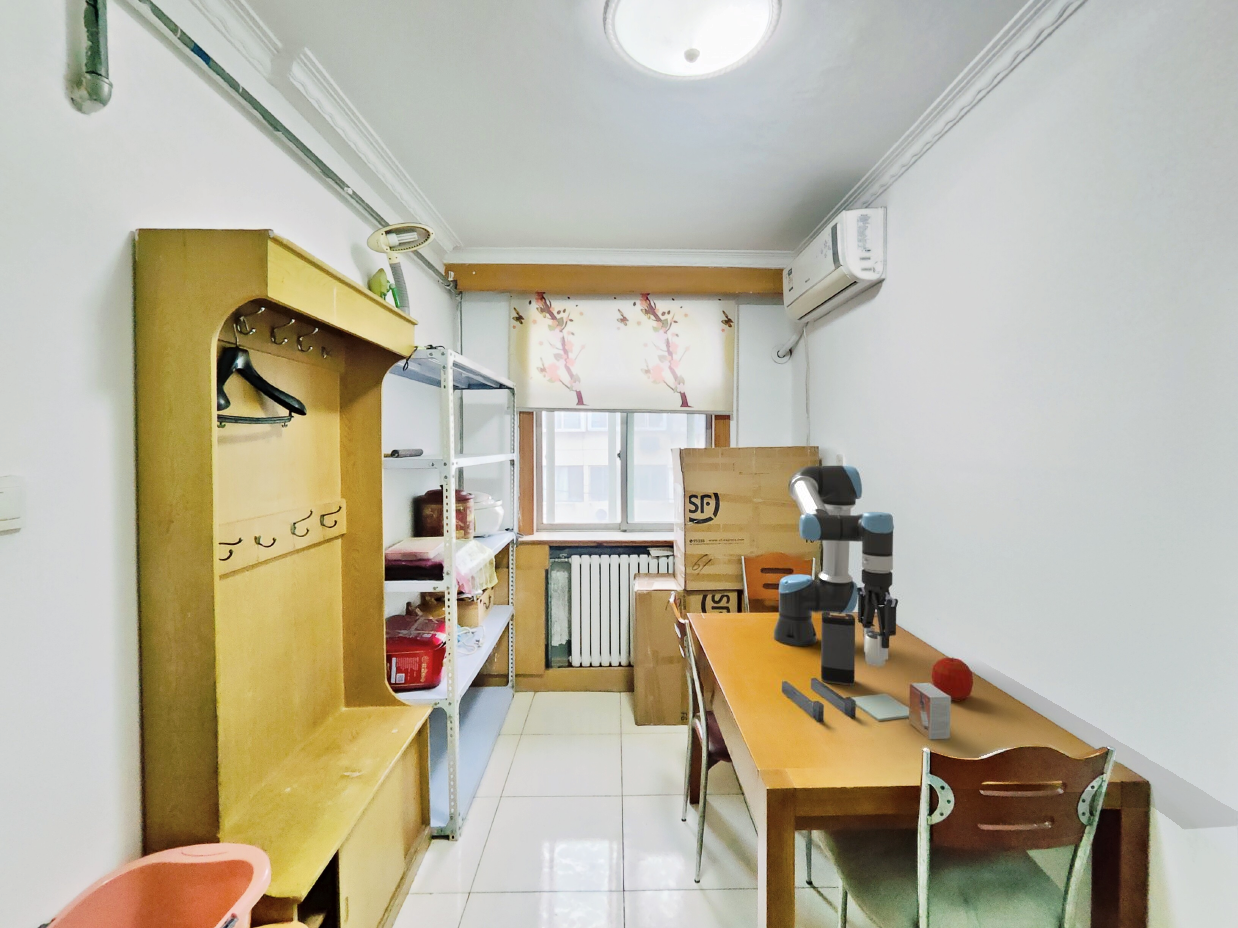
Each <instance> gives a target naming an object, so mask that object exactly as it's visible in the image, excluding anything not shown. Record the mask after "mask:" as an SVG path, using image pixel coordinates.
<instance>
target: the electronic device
mask: <svg viewBox="0 0 1238 928" xmlns="http://www.w3.org/2000/svg"><path fill="white" fill-rule="evenodd" d="M820 632H821V640H820V641H821V643H820V645H821V646H820V647H821V649H820V652H821V654H820V656H821V658H820V676H821V677H820V679H821V681H822V682H824V683H827V684H828V683H829V684H836V685H843V686H844V685H845V686H854V685H855V672H856V671H855V668H856V667H855V665H856V664H855V661H856V618H855V616H854V615H853V614H851V613H849V614H845V615H840V614H836V615H835V614H831V613H830V612H823V613H821V630H820Z"/></svg>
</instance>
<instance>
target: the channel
mask: <svg viewBox="0 0 1238 928" xmlns="http://www.w3.org/2000/svg"><path fill="white" fill-rule="evenodd" d="M810 689H811V690H812V691H814V692H815V693H816V694H818V695H819V696H820V697H821V698H822V699H825V701H827V702H828V703H829V704H831V705H832V706H833V707H835V708H836V709H838V710H839V711H840V712H842V713H843V714H844V715H846V716H847V717H848V718H850V719H854V718H857V716H856V713H857V712H856V711H857V710H856V709H857V708H856V707H857V706H856V701H855V700H854V699H852V698H853V697H851V696H847V697H843V696H842V695H841V694H839V693H838V692H836V691H835V690H834V689H832V688H831V687H829V686H828V685H826V684H825V682H824V683H823V681H822V680H820V679H818V678H816V677H812V678H810ZM781 692H782V693H783V694H784V695H785V696H786V697H788V698H789V699H790V700H791V701H792V702H793V703H795V704H796V705H797V706H798V707H800V709H802V710H803V711H804V712H805V713H806V714H808V715H809V716H810V717H811V718H812V719H814V720H815V721H816V722H817V723H823V722H824V720H825V719H824V717H825V715H824V713H825V712H824V710H825V709H824V708H825V707H824V704H823V703H822V702H821V701H820V700H813V701H812V699H810V698H809V697H807V696H806V695H805V694H804V693H803V692H801V691H800V690H799V689H798V688H796V687H795V686H794V685H792V684H791V683H789V682H788V681H787V680H782V681H781Z"/></svg>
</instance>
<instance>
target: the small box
mask: <svg viewBox="0 0 1238 928" xmlns="http://www.w3.org/2000/svg"><path fill="white" fill-rule="evenodd" d="M908 702H909V704H908V708H909V717H908V723H909V724H910V725H911V726H913V727H914V728H915V729H916V730H917V731H918V732H920V733H921V734H922V735H923V736H924V737H926V739H928V740H943V739H946V740H947V739H950V738H951V713H952V711H951V710H952V709H951V708H952V700H951V697H950V696H949V695H947V694H945V693H944V692H942V691H941V690H939V689H938V688H936V687H935V686H934V685H933V684H932V683H930V682H922V683H921V682H919V683H915V682H914V683H909V701H908Z"/></svg>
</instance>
